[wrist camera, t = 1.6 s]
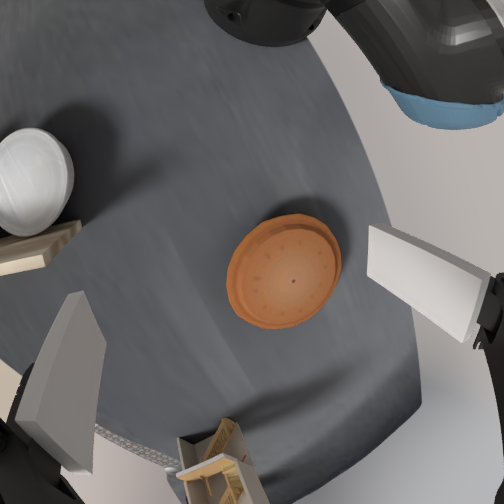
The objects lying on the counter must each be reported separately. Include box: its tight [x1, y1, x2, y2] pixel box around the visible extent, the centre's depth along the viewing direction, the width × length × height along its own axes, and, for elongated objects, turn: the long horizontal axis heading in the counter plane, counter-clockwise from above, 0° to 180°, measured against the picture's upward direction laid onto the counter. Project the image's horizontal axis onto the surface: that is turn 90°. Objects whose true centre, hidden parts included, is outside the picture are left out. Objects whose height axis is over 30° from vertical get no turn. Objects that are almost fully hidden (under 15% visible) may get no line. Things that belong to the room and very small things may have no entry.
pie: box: [226, 213, 342, 329], centre depth 35 cm, size 15×16×5 cm
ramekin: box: [0, 128, 74, 237], centre depth 22 cm, size 11×11×5 cm
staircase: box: [94, 418, 270, 504], centre depth 34 cm, size 8×12×26 cm
